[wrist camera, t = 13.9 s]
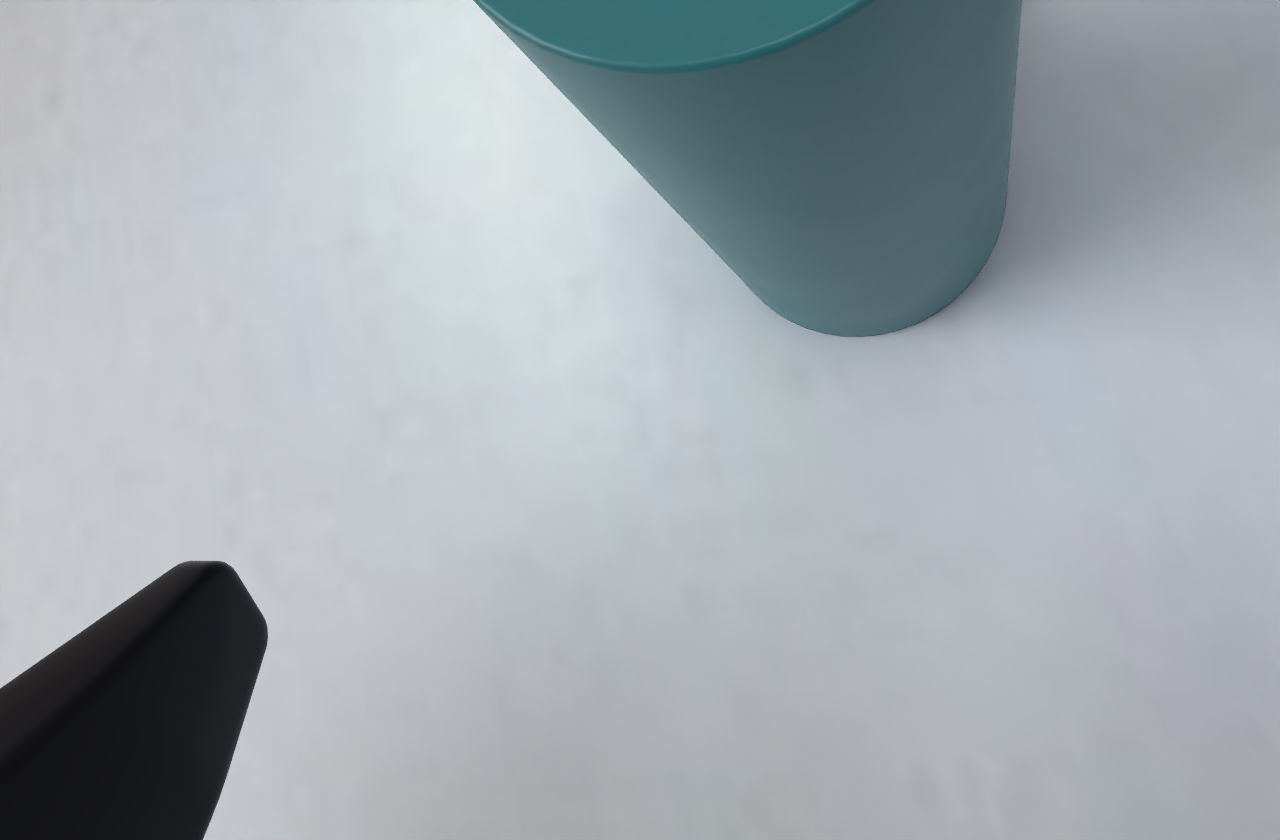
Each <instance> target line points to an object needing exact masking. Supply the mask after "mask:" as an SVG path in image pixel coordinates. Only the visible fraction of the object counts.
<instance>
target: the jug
mask: <svg viewBox="0 0 1280 840" xmlns="http://www.w3.org/2000/svg"><path fill="white" fill-rule="evenodd" d="M474 1H475V2H476V4H477V5H478V6H479V7H480V8H481V9H482V10H483V11H484V12H485V13H486V14H487V15H488V16H489V17H490V18H491V19H492V20H493V21H494V22H495V24H496V25H497V26H498V27H499V28H500V29H501V30H502V31H503V32H504V33H505V34H506V35H507V36H508V37H509V38H510V39H511V40H512V41H513V42H514V43H515V44H516V45H517V46H518V47H519V48H520V50H521V51H522V52H523V53H524V54H525V55H526V56H527V57H528V58H529V59H530V60H531V61H532V62H533V63H534V64H535V65H536V66H537V67H538V68H539V69H540V70H541V71H542V72H543V73H544V74H545V76H546V77H547V78H548V79H549V80H550V81H551V82H552V83H553V84H554V85H555V86H556V87H557V88H558V89H559V90H560V91H561V92H562V93H563V94H564V95H565V96H566V97H567V98H568V99H569V100H570V102H571V103H572V104H573V105H574V106H575V107H576V108H577V109H578V110H579V111H580V112H581V113H582V114H583V115H584V116H585V117H586V118H587V119H588V120H589V121H590V122H591V123H592V124H593V125H594V126H595V128H596V129H597V130H598V131H599V132H600V133H601V134H602V135H603V136H604V137H605V138H606V139H607V140H608V141H609V142H610V143H611V144H612V145H613V146H614V147H615V148H616V149H617V150H618V151H619V152H620V154H621V155H622V156H623V157H624V158H625V159H626V160H627V161H628V162H629V163H630V164H631V165H632V166H633V167H634V168H635V169H636V170H637V171H638V172H639V173H640V174H641V175H642V176H643V177H644V178H645V180H646V181H647V182H648V183H649V184H650V185H651V186H652V187H653V188H654V189H655V190H656V191H657V192H658V193H659V194H660V195H661V196H662V197H663V198H664V199H665V200H666V201H667V202H668V203H669V204H670V206H671V207H672V208H673V209H674V210H675V211H676V212H677V213H678V214H679V215H680V216H681V217H682V218H683V219H684V220H685V221H686V222H687V223H688V224H689V225H690V226H691V227H692V228H693V229H694V230H695V232H696V233H697V234H698V235H699V236H700V237H701V238H702V239H703V240H704V241H705V242H706V243H707V244H708V245H709V246H710V247H711V248H712V249H713V250H714V251H715V252H716V253H717V254H718V255H719V256H720V258H721V259H722V260H723V261H724V262H725V263H726V264H727V265H728V266H729V267H730V268H731V269H732V270H733V271H734V272H735V273H736V274H737V275H738V276H739V277H740V278H741V279H742V280H743V281H744V282H745V284H746V285H747V286H748V287H749V288H750V289H751V290H752V291H753V292H754V293H755V294H756V295H757V296H758V297H759V298H760V299H761V300H762V301H763V302H764V303H765V304H766V305H768V306H769V307H770V308H771V309H773V310H774V311H775V312H776V313H778V314H780V315H781V316H783V317H785V318H786V319H788V320H790V321H791V322H793V323H796V324H798V325H800V326H803V327H805V328H807V329H811V330H814V331H818V332H821V333H825V334H831V335H838V336H857V337H862V336H871V335H880V334H885V333H889V332H893V331H897V330H900V329H903V328H906V327H908V326H911V325H914V324H916V323H918V322H920V321H922V320H924V319H926V318H928V317H930V316H932V315H934V314H935V313H937V312H938V311H940V310H941V309H942V308H944V307H945V306H947V305H948V304H950V303H951V302H952V301H953V300H954V299H955V298H956V297H957V296H959V295H960V294H961V293H962V292H963V291H964V290H965V289H966V288H967V287H968V286H969V284H970V283H971V282H972V281H973V280H974V279H975V277H976V276H977V275H978V273H979V272H980V270H981V269H982V267H983V266H984V264H985V263H986V261H987V260H988V258H989V256H990V254H991V252H992V250H993V248H994V245H995V243H996V241H997V238H998V235H999V232H1000V229H1001V226H1002V222H1003V217H1004V211H1005V206H1006V194H1007V181H1008V169H1009V156H1010V144H1011V131H1012V119H1013V106H1014V94H1015V81H1016V69H1017V57H1018V44H1019V32H1020V19H1021V7H1022V0H474Z"/></svg>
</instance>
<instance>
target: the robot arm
mask: <svg viewBox="0 0 1280 840" xmlns="http://www.w3.org/2000/svg"><path fill="white" fill-rule="evenodd" d="M267 639H268V631H267V625H266V621H265V619H264V617H263V615H262V613H261V612H260V610H259V608H258V607H257V605H256V604H255V602H254V600H253V599H252V597H251V595H250V594H249V592H248V591H247V589H246V587H245V586H244V584H243V583H242V581H241V579H240V578H239V576H238V574H237V573H236V571H235V570H234V569H233V568H232V567H231V566H230V565H228V564H227V563H225V562H220V561H188V562H183V563H181V564H178V565H177V566H175V567H173V568H172V569H171V570H169V571H168V572H166V573H165V574H163V575H162V576H161V577H159V578H158V579H156V580H155V581H153V582H152V583H151V584H149V585H148V586H146V587H145V588H143V589H142V590H141V591H139V592H138V593H136V594H135V595H133V596H132V597H131V598H129V599H128V600H126V601H125V602H123V603H122V604H121V605H119V606H118V607H116V608H115V609H113V610H112V611H111V612H109V613H108V614H106V615H105V616H103V617H102V618H101V619H99V620H98V621H96V622H95V623H93V624H92V625H91V626H89V627H88V628H86V629H85V630H83V631H82V632H81V633H79V634H78V635H76V636H75V637H73V638H72V639H71V640H69V641H68V642H66V643H65V644H63V645H62V646H61V647H59V648H58V649H56V650H55V651H53V652H52V653H50V654H49V655H48V656H46V657H45V658H43V659H42V660H40V661H39V662H38V663H36V664H35V665H33V666H32V667H30V668H29V669H28V670H26V671H25V672H23V673H22V674H20V675H19V676H18V677H16V678H15V679H13V680H12V681H10V682H9V683H8V684H6V685H5V686H3V687H2V688H0V840H203V838H204V835H205V833H206V831H207V828H208V826H209V823H210V821H211V818H212V816H213V813H214V810H215V808H216V805H217V803H218V800H219V797H220V794H221V791H222V788H223V785H224V782H225V779H226V776H227V773H228V770H229V767H230V764H231V760H232V757H233V754H234V751H235V747H236V744H237V741H238V738H239V735H240V731H241V728H242V725H243V722H244V718H245V715H246V712H247V709H248V705H249V702H250V699H251V696H252V692H253V689H254V686H255V683H256V679H257V676H258V673H259V670H260V666H261V663H262V660H263V657H264V654H265V650H266V646H267Z"/></svg>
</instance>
